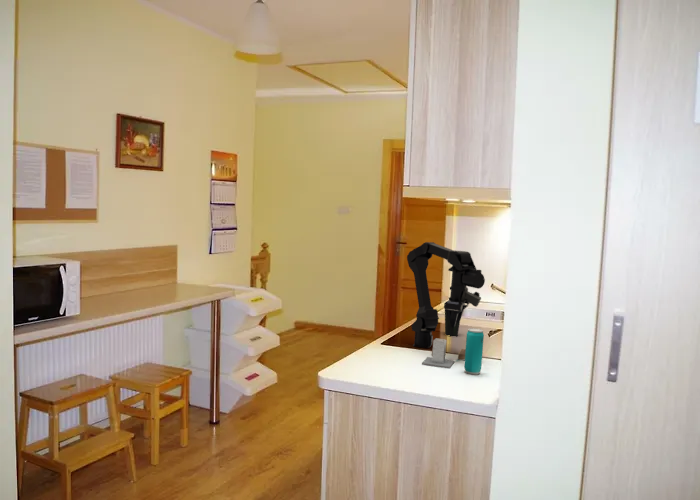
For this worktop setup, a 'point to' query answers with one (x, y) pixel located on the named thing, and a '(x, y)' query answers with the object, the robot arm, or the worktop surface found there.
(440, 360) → the pale grey block
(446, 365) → the pad
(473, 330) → the beverage can
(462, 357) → the vise
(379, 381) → the worktop surface
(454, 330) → the cup
